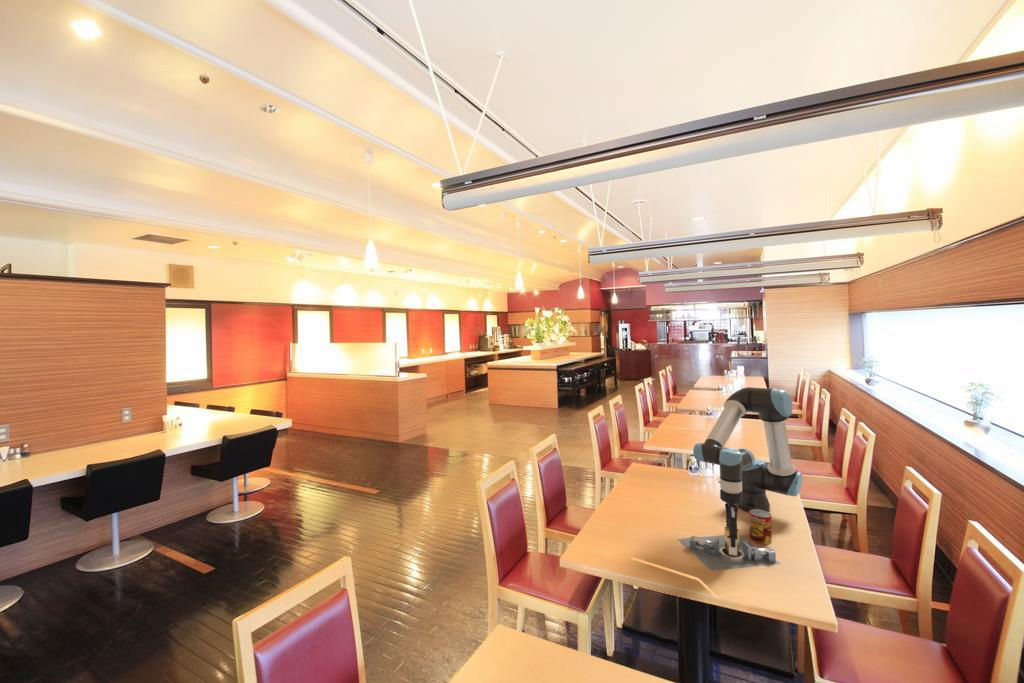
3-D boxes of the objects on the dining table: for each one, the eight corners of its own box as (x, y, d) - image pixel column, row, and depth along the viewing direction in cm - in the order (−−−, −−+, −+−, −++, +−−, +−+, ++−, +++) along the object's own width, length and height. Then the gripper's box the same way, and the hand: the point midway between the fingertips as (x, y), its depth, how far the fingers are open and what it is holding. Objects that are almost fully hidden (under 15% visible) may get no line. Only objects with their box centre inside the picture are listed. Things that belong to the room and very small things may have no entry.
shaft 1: (719, 551, 165) (719, 537, 165) (716, 556, 161) (716, 542, 161) (692, 543, 171) (692, 530, 171) (689, 548, 167) (689, 535, 167)
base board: (738, 535, 179) (737, 533, 179) (781, 565, 155) (781, 563, 155) (677, 541, 175) (677, 539, 175) (711, 572, 151) (711, 570, 151)
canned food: (745, 539, 176) (745, 511, 176) (758, 535, 179) (757, 507, 179) (763, 547, 168) (762, 518, 168) (776, 543, 172) (775, 514, 171)
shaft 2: (748, 561, 157) (748, 547, 157) (742, 554, 162) (742, 541, 162) (776, 562, 156) (776, 548, 156) (770, 556, 160) (770, 542, 160)
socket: (734, 550, 165) (734, 545, 165) (749, 562, 156) (749, 556, 156) (715, 552, 164) (715, 547, 164) (729, 564, 155) (728, 558, 155)
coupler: (738, 555, 161) (737, 527, 161) (739, 561, 157) (739, 532, 157) (724, 553, 163) (723, 525, 163) (725, 559, 159) (725, 530, 158)
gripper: (718, 480, 171) (718, 536, 171) (722, 498, 152) (723, 560, 152) (738, 482, 168) (739, 539, 168) (745, 501, 149) (746, 564, 149)
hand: (731, 549), depth 160 cm, fingers open, 7 cm apart
